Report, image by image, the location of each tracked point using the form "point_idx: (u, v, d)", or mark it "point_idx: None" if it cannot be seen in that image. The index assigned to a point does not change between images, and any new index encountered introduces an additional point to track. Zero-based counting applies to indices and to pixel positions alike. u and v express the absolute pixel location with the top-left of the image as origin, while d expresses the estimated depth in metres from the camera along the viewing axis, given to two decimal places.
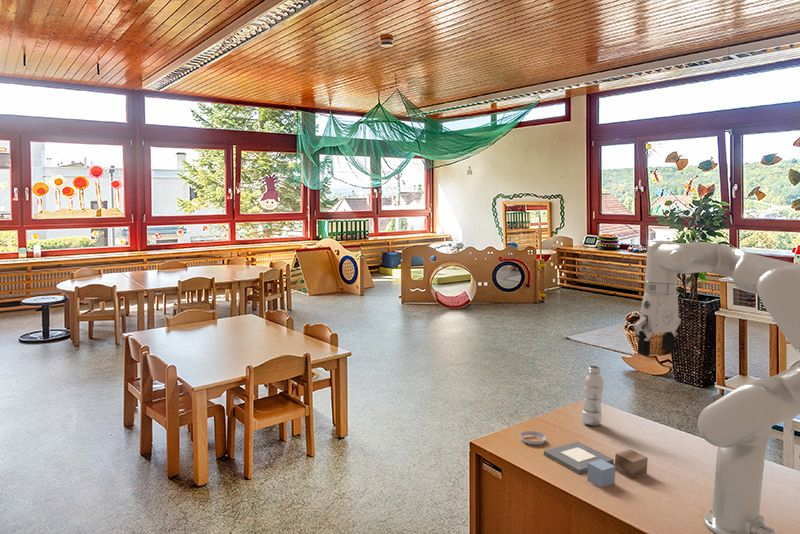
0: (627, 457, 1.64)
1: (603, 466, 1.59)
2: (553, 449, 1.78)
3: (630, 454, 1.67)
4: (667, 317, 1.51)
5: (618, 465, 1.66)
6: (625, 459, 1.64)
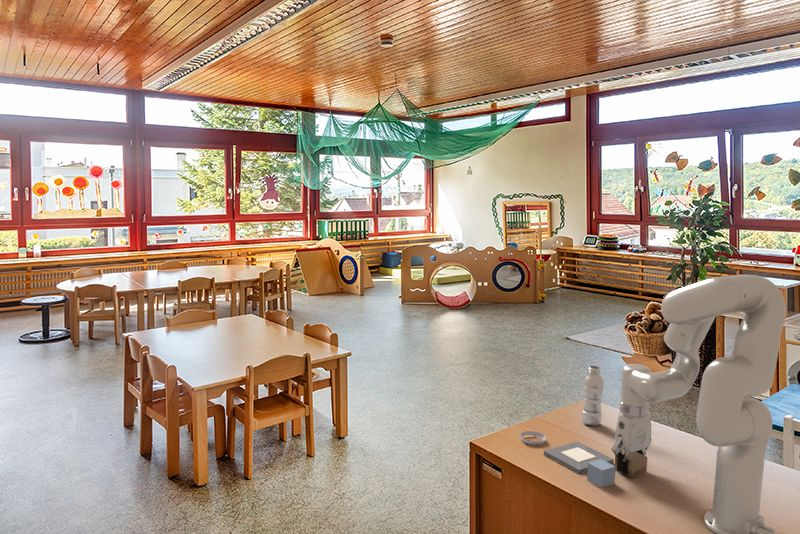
0: None
1: (603, 465, 1.59)
2: (553, 449, 1.78)
3: (630, 453, 1.67)
4: (640, 436, 1.63)
5: None
6: None
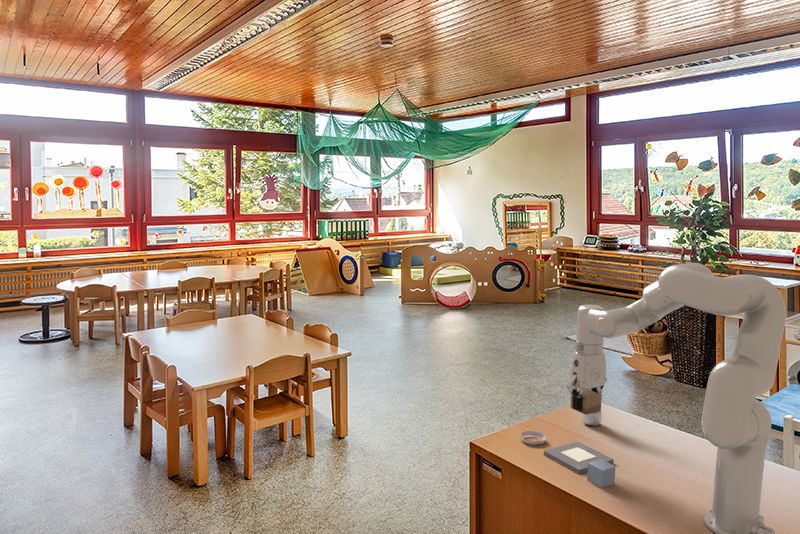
0: (582, 394, 1.69)
1: (603, 466, 1.59)
2: (553, 449, 1.78)
3: (586, 392, 1.72)
4: (594, 374, 1.68)
5: None
6: None
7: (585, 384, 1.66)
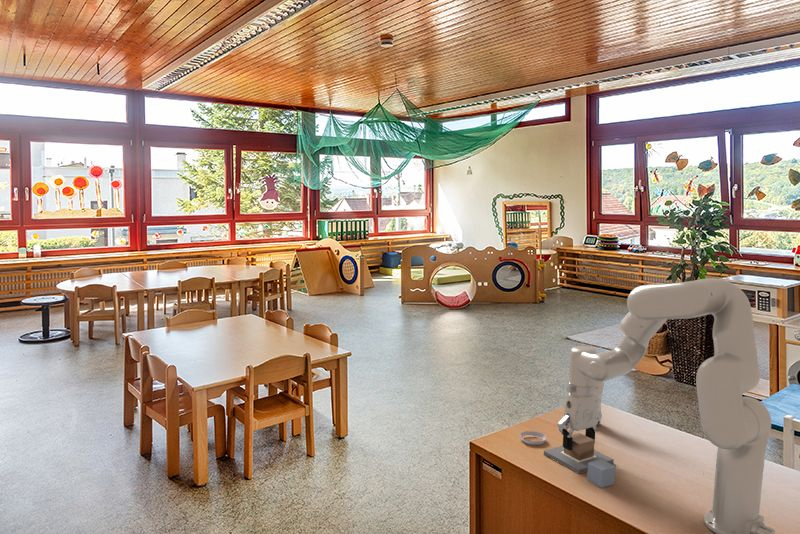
0: (575, 440, 1.72)
1: (603, 466, 1.59)
2: (553, 449, 1.78)
3: (579, 437, 1.74)
4: (587, 415, 1.70)
5: None
6: (573, 441, 1.72)
7: (578, 425, 1.69)
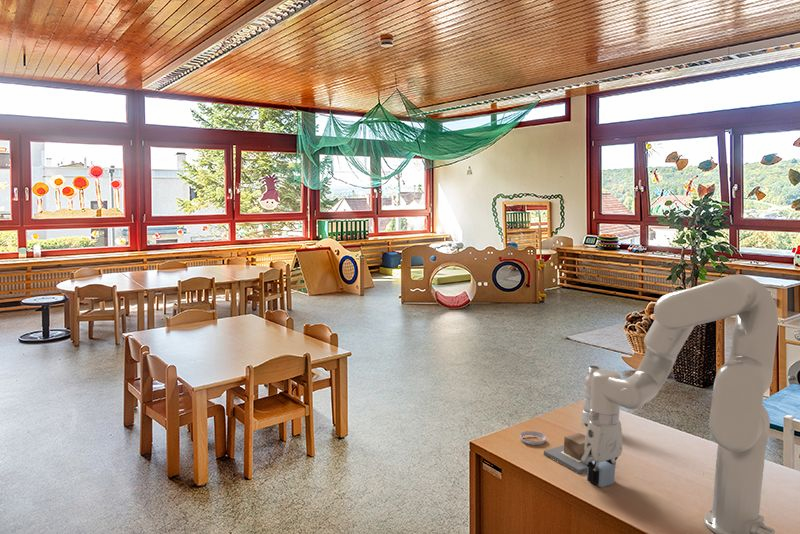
0: (575, 440, 1.72)
1: (603, 465, 1.59)
2: (553, 449, 1.78)
3: (579, 437, 1.74)
4: (610, 445, 1.57)
5: (567, 447, 1.74)
6: (573, 441, 1.72)
7: (600, 456, 1.55)
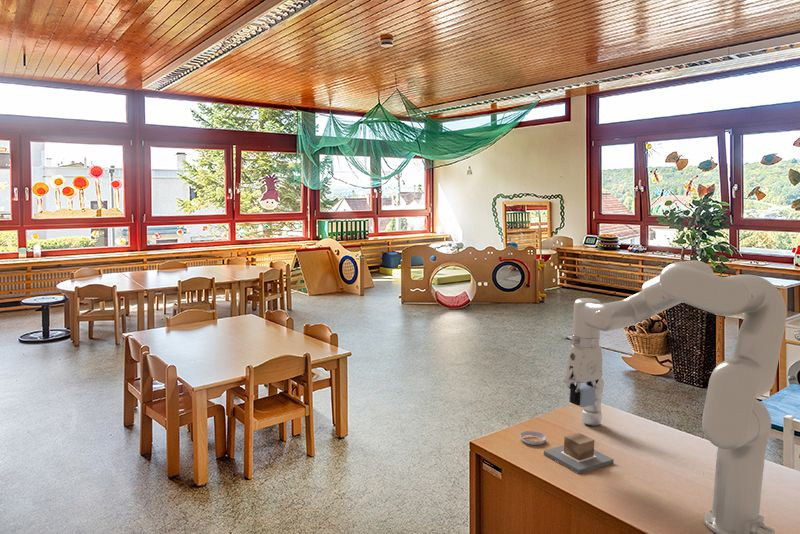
0: (575, 440, 1.72)
1: (584, 387, 1.70)
2: (553, 449, 1.78)
3: (579, 437, 1.74)
4: (591, 367, 1.67)
5: (567, 447, 1.74)
6: (573, 441, 1.72)
7: (582, 378, 1.66)
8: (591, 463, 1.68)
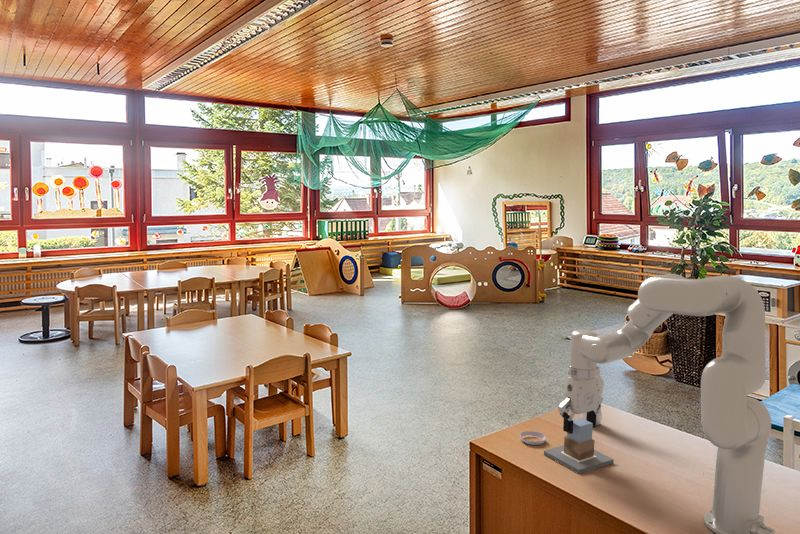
0: None
1: (582, 423, 1.72)
2: (553, 449, 1.78)
3: None
4: (588, 398, 1.69)
5: (567, 447, 1.74)
6: (573, 441, 1.72)
7: (579, 409, 1.68)
8: (591, 463, 1.68)
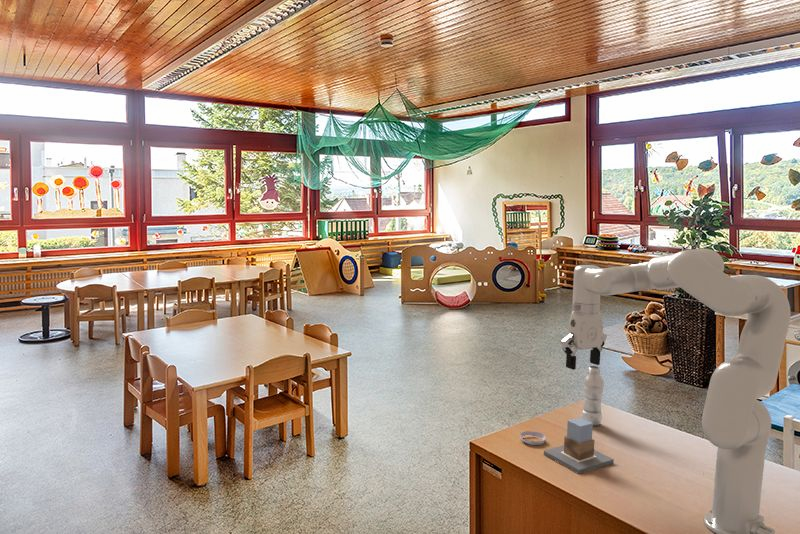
0: None
1: (582, 423, 1.72)
2: (553, 449, 1.78)
3: None
4: (591, 334, 1.67)
5: (567, 447, 1.74)
6: (573, 441, 1.72)
7: (582, 344, 1.66)
8: (591, 463, 1.68)
